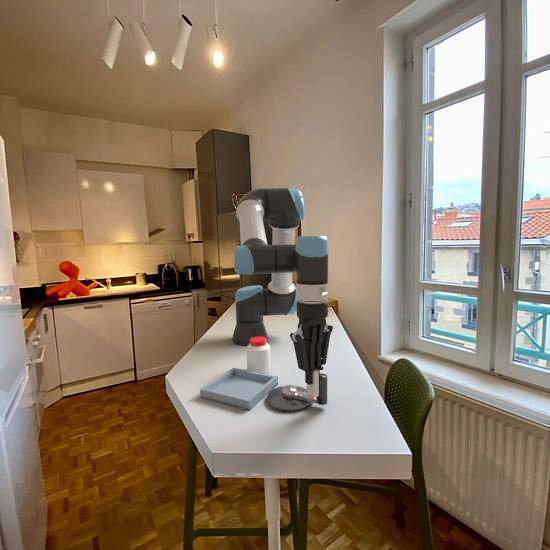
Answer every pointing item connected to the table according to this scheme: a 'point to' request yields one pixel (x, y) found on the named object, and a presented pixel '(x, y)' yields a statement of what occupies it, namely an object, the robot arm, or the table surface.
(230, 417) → the table surface
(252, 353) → the pill bottle
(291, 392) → the crank
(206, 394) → the tray
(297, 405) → the crank base
